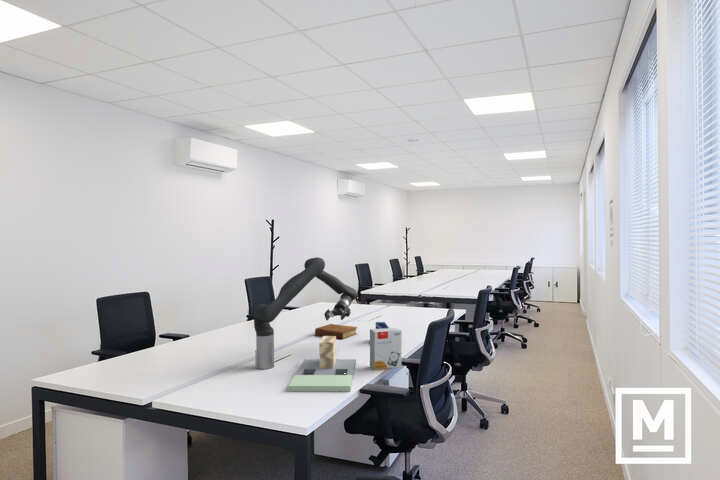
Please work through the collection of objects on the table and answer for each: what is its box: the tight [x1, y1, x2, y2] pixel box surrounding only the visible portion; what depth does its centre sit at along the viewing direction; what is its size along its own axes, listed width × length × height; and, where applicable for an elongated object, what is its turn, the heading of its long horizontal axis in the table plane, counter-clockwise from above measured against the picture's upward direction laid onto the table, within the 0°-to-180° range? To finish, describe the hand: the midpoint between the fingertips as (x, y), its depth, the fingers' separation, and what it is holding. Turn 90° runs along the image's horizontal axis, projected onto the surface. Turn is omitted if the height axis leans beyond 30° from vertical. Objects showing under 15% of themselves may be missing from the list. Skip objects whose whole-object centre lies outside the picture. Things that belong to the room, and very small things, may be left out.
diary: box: [314, 323, 358, 340], centre depth 321 cm, size 23×19×6 cm
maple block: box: [318, 336, 337, 368], centre depth 240 cm, size 7×15×13 cm, turn 177°
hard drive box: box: [369, 327, 403, 371], centre depth 241 cm, size 16×8×20 cm, turn 105°
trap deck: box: [287, 358, 357, 393], centre depth 227 cm, size 28×44×2 cm, turn 177°
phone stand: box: [375, 321, 390, 329], centre depth 298 cm, size 12×12×12 cm
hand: (334, 318), depth 253 cm, fingers open, 8 cm apart
